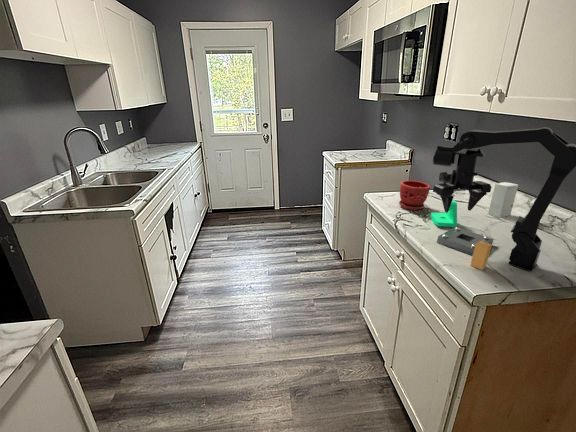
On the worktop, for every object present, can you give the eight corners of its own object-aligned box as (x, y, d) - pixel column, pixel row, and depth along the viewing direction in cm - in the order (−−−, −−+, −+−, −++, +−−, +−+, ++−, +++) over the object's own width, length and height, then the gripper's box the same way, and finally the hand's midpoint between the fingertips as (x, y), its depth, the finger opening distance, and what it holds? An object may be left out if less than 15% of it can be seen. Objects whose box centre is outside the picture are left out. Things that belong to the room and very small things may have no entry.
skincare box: (499, 218, 141) (508, 186, 135) (486, 214, 146) (494, 183, 140) (510, 215, 144) (519, 184, 139) (497, 211, 149) (505, 180, 144)
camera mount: (429, 217, 142) (433, 196, 138) (447, 218, 141) (451, 197, 137) (436, 228, 131) (440, 205, 127) (455, 229, 130) (460, 206, 126)
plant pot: (417, 213, 146) (421, 189, 141) (392, 206, 155) (395, 183, 151) (431, 207, 153) (435, 184, 149) (406, 200, 163) (410, 178, 158)
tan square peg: (486, 266, 103) (492, 244, 100) (481, 269, 101) (487, 247, 98) (474, 262, 105) (480, 240, 102) (470, 265, 103) (475, 243, 100)
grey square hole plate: (491, 244, 117) (494, 237, 116) (476, 256, 109) (478, 248, 107) (453, 232, 127) (455, 225, 126) (436, 242, 119) (438, 234, 117)
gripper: (472, 162, 115) (465, 202, 121) (426, 165, 112) (421, 206, 118) (497, 168, 105) (487, 212, 111) (447, 171, 102) (439, 216, 108)
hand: (457, 211), depth 112 cm, fingers open, 9 cm apart
